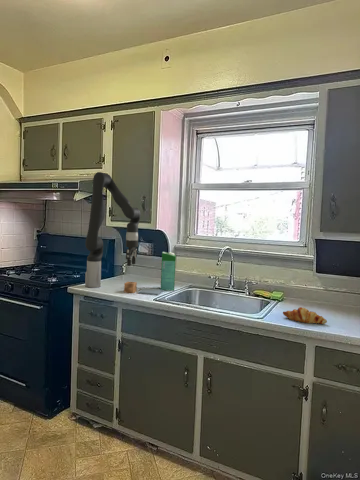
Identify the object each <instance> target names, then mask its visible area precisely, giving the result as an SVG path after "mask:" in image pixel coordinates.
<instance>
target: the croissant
mask: <svg viewBox="0 0 360 480" xmlns="http://www.w3.org/2000/svg"><path fill="white" fill-rule="evenodd" d="M282 314H283V316H284V317H286V318H287V319H289V320H291V321H294V320H295V321H294V322H297V321H299V322H298V323H303V322H304V323H303V324H313V323H316V324H317V323H318V324H320V325H325V324H326V323H328V321H327V319H325V318H324V317H323V316H322V315H319V314H318V313H316V311H310V310H309V309H308V308H306V307H300V306H299V307H298V308H297V309H296V308H295V309H292V310H286V311H283V312H282Z"/></svg>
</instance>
